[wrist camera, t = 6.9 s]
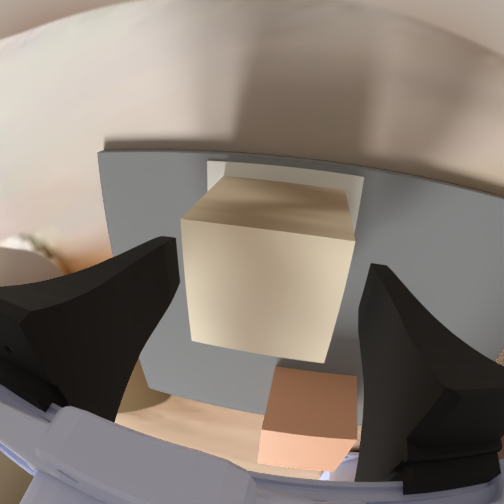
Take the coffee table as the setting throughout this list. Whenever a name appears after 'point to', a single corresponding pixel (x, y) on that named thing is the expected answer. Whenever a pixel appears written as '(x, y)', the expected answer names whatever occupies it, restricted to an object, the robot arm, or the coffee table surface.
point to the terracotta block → (309, 420)
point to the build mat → (365, 252)
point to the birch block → (267, 266)
